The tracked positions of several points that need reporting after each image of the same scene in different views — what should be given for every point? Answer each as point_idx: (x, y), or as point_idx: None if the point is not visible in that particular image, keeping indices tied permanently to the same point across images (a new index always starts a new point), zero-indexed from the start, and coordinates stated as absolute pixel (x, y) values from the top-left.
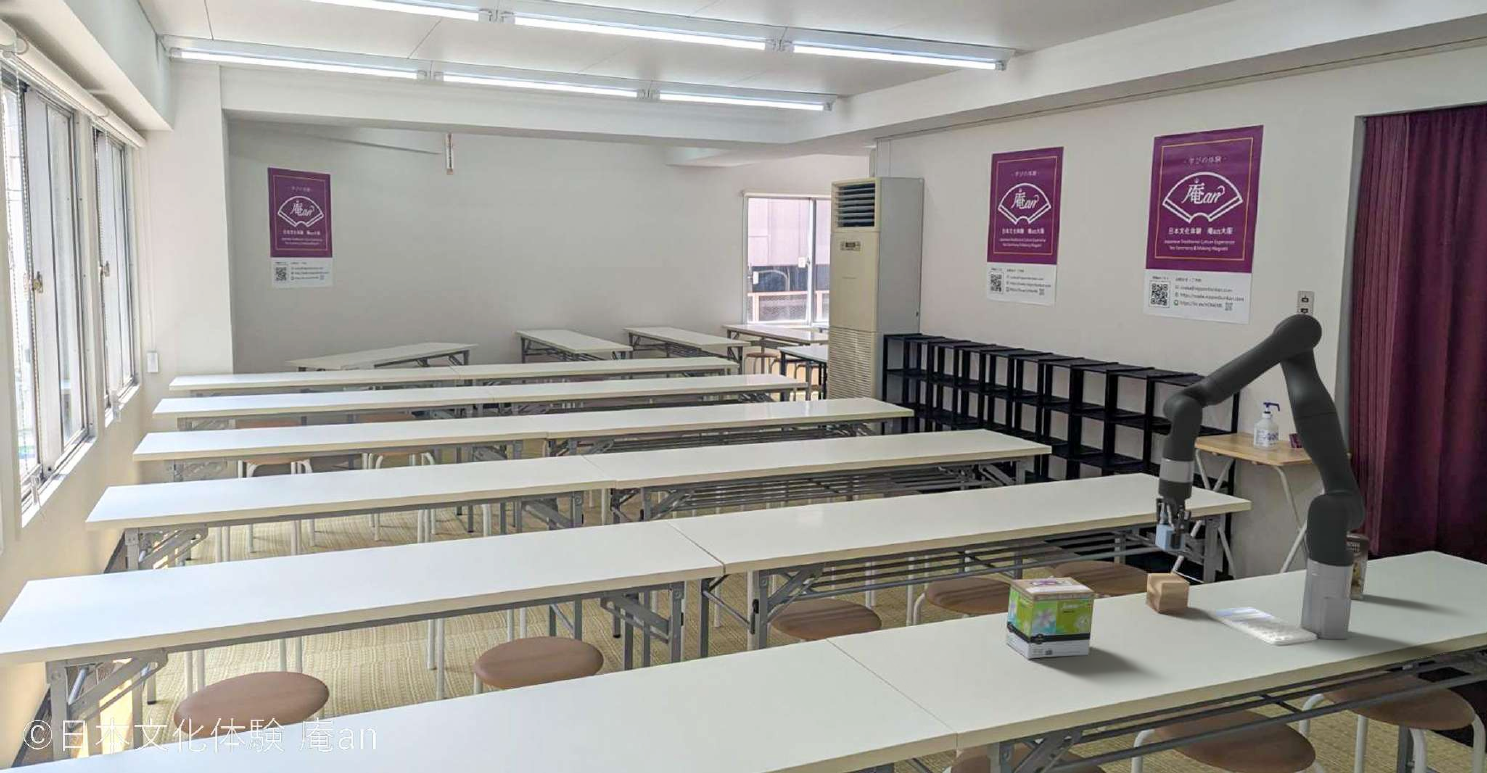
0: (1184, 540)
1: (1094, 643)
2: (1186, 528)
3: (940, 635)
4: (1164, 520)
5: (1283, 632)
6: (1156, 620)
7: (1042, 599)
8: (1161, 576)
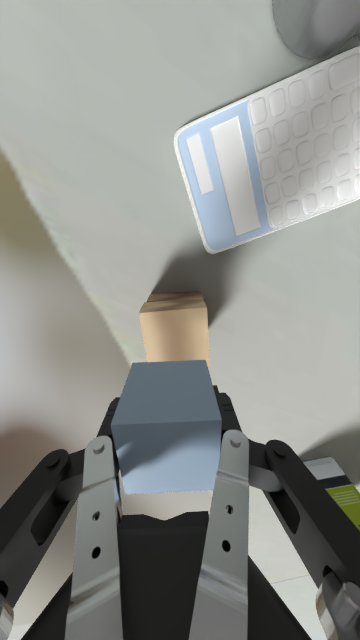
0: (212, 388)
1: (302, 443)
2: (308, 478)
3: (263, 538)
4: (121, 502)
5: (342, 144)
6: (231, 351)
7: None
8: (167, 352)
